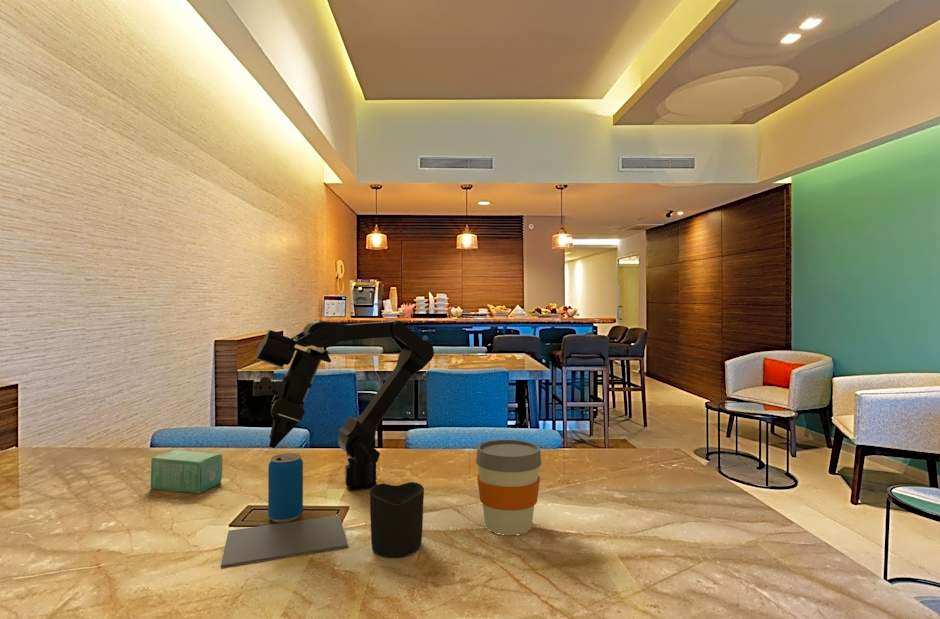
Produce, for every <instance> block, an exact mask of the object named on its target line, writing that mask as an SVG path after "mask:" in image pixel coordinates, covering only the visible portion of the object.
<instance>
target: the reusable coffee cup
mask: <svg viewBox="0 0 940 619" xmlns="http://www.w3.org/2000/svg"><path fill="white" fill-rule="evenodd" d="M541 456H542V454H541V448H540V446H538V445H537V444H535V443H534V442H532V441H531V442H530V441H526V440H521V439H519V440H518V439H494V440H493V439H492V440H488V441H484V442H482V443H480V444H478V445H477V448H476V457H475V458H476V459H475V463H476V465H477V467H478V468H477V469H478V474H477V477H476V478H477V484H478V485H477V486H478V493H479V494H478V495H479V501H480V502H481V503H482V508H483V517H484V519H483V520H484V526H486V527H487V528H488V529H489V530H491V531H493V532H496V533H500V534H504V535H517V534H522V533H525V532H527V533H529V532H530V531H531V530H532V528H531V527H533V518H534V511H535V505H536V504H537V503H538V497H539V490H540V489H539V488H540V482H541V478H540V475H539V472H540V467H541V465H542V457H541ZM486 527H485V528H486ZM487 528H486V529H487ZM488 529H487V530H488ZM530 529H531V530H530ZM489 530H488V531H489ZM529 530H530V531H529ZM528 531H529V532H528ZM525 534H526V533H525ZM504 535H503V536H504ZM522 535H523V534H522ZM517 536H518V535H517Z"/></svg>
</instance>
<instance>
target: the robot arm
mask: <svg viewBox="0 0 940 619" xmlns="http://www.w3.org/2000/svg"><path fill="white" fill-rule="evenodd" d="M376 338H377V339H378V338H390V339H392V341H393V342H394V343H395V344H396V345H397V347H398V348H399V349H400V351H399V354H398V358H397V362H396V366H395V367H394V369H392V371H391V373H390V374H389V375H388V377H387V378H386V380H385V381H384V382H383V384H382V385H381V387H380V388H379V389H378V391H377V392H376V394H375V395H374V396H373V397H372V399H371V400H370V402H369V403H368V404H367V406H366V407H365V409H364V410H363V412H362V413H361V414H360V415H358V416H357V417H355V418H354V417H352V416H348V417H347V419H346V422H345V423H344V425H343V426H342V427H340V428H339V429H338V430H339V434H338V436H337V441H338V442H337V443H338V447H339V448H340V449H342V451H344V452H345V454H346V456H347V457H348V458H347V464H346V465H344V483H345V485H346V487H347V488H348V490H349V491H350V492H351V491H353V492H354V491H359V490H368V489H369V490H370V489H371V488H372V487H373V486H375V485H378V483H377V462H379V459H380V455H381V453H380V452H379V451H378V450H377V449H376V448H375V447H374V446H372V443H373V441H374V439H375V436H376V433H377V428H378V425H379V424H380V423H381V421H382V419H383V418H384V417H385V415H386V413H387V412H388V411H389V409H390V408H391V406H392V405H393V404H394V402H395V401H396V400H397V398H398V396H400V394H401V393H402V391H403V389H404V388H405V387H406V385H407V384H408V382H409V381H410V379H411V378H412V377H413V376H414V375H416V374H417V373H418V372H420V371H421V370H423V369H424V368H425V367H426V366H427V365H428V364H429V363H430V362H431V360H433V358H434V355H435V350H434V349H435V348H434V347H433V346H434V345H433V344H432V343H431V342H430V341H428V340H425V339H423V338H422V337H421V336H419V335H418V334H417V333H416V332H414V331H413V330H411V329H410V328H409V327H408V326H407V325H405V323H404V322H403V321H401V320H388V321H376V322H362V323H346V324H345V323H343V324H342V323H336V322H335V323H334V322H327V321H325V322H324V321H315V320H314V321H310V322H308V323H306V325H305V326H304V328H303V329H302V331H301V332H299V333H297V334H296V335H293V337H288V336H285V335H282V334H281V333H278V332H276V331H274V330H271V329H269V330H268V331H267V333H266V335H265V336H264V337H263V339H262V341H261V342H260V343H259V344H258V347H257V349H256V352H255V355H254V358H255V360H258V361H259V362H264V363H266V364H269V365H272V366H275V367H278V368H282V367H284V365H286V366H288V365H289V367H288V370H287V372H286V374H284V375H283V377H282V379H271V377H270V376H265V377H264V376H262V377H261V378H260V379H253V383H252V385H253V386H252V396H253V397H260V396H273V398H272V400H271V403H272V404H271V405H270V407H271V409H270V414H271V417H272V418H273V420H272V424H271V429H270V434H269V444H268V446H269V448H270V449H271V448H272V449H275V448H276V447H277V446H278V445H279V444H280V442H281V441H282V440H283V439H284V438H285V437H286V436H287V435H288V434H289V433H290V432H291V431H292V430H293V429H294V428H295V427H296V426H297V425H298V424H300V421H302V420H303V417H304V415H305V409H304V404H305V400H306V397H307V396H308V393H309V391H310V389H311V388H312V386H313V381H314V378H315V376H316V374H317V372H318V369H319V366H320V364H321V362H322V361H323V362H327V363H328V364H329V363H331V362H332V359H331V358H330V356H329V351H328V350H326V349H323V350H322V351H320V350H316V349H313V348H311V347H315V348H320V349H322V348H327V347H330V346H334V345H338V344H340V343H344V342H347V341H354V340H355V341H356V340H367V339H368V340H369V339H376ZM295 346H300V347H303V348H306V347H308V348H307V349H306V350H302V349H300V348H297V347H295Z"/></svg>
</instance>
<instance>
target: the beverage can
mask: <svg viewBox="0 0 940 619" xmlns="http://www.w3.org/2000/svg"><path fill="white" fill-rule="evenodd" d="M301 457H302V456H301V454H299V453H294V452H289V453H288V452H287V453H279V454H276V455H273V456H271V458H270V461H269V464H268V482H267V483H268V484H267V485H268V486H267V487H268V493H267V494H268V496H267V498H268V501H267V502H268V507H267V509H268V512H267V513H268V518H269V519H271V520H272V521H273V522H275V523H287V522H294V521H295V520H296V519H299V517H300V516H301V515H302V514H303V513H304V462H303V459H302V458H301Z"/></svg>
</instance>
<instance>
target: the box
mask: <svg viewBox="0 0 940 619" xmlns="http://www.w3.org/2000/svg"><path fill="white" fill-rule="evenodd" d="M150 460H151V463H150V464H151V465H150V466H151V467H150V490H151V489H152V490H153V489H154V490H162V491H163V490H164V491H171V492H172V491H174V492H183V493H193V494H199V493H200V494H202V493H203V492H206V491H208V490H210V489H212V488H214V487H216V486H218V485H220V484H221V482H222V479H223V455H222V454H221V453H211V452H201V451H192V450H191V451H189V450H178V449H177V450H176V449H174V450H172V451H168V452H165V453H161V454H158V455H156V456H152V457H151V459H150Z"/></svg>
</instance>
